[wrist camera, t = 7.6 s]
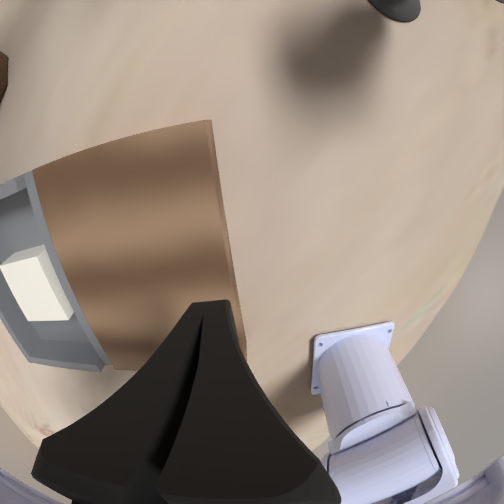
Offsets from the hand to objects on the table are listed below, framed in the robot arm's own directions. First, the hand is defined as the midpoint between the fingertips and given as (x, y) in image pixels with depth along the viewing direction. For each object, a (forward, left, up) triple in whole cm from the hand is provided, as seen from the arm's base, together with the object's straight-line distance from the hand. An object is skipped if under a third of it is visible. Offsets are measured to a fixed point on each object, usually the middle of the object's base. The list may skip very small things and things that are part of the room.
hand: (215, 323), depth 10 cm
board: (-2, +6, -10) cm, 12 cm away
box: (-2, +19, -10) cm, 21 cm away
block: (-2, +17, -10) cm, 20 cm away
